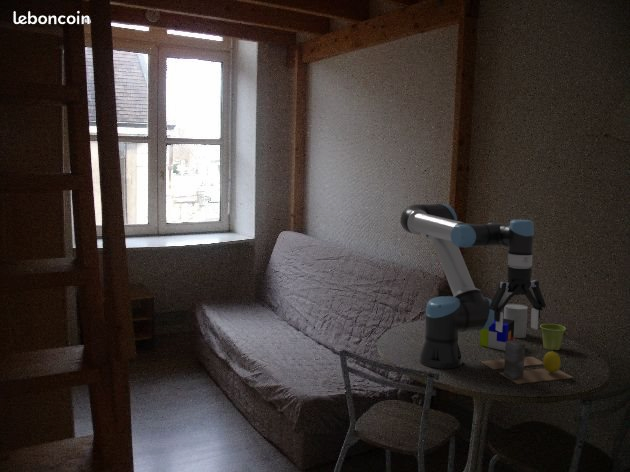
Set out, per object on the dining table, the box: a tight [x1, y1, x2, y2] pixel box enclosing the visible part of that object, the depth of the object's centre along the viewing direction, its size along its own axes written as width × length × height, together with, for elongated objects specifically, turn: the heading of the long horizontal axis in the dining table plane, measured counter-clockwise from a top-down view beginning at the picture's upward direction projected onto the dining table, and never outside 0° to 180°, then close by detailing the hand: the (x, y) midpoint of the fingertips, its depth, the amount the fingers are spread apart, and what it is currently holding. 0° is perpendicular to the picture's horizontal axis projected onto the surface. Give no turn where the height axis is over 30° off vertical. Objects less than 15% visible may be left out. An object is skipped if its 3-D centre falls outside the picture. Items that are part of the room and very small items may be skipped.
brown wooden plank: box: [480, 356, 544, 370], centre depth 211 cm, size 22×8×1 cm, turn 106°
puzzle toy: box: [479, 318, 515, 352], centre depth 232 cm, size 10×10×10 cm
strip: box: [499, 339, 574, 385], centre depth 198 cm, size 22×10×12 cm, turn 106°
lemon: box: [542, 350, 562, 373], centre depth 200 cm, size 6×6×8 cm
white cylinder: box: [503, 303, 529, 339], centre depth 247 cm, size 10×10×12 cm
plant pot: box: [539, 323, 567, 351], centre depth 229 cm, size 9×9×9 cm
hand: (516, 329), depth 194 cm, fingers open, 13 cm apart
